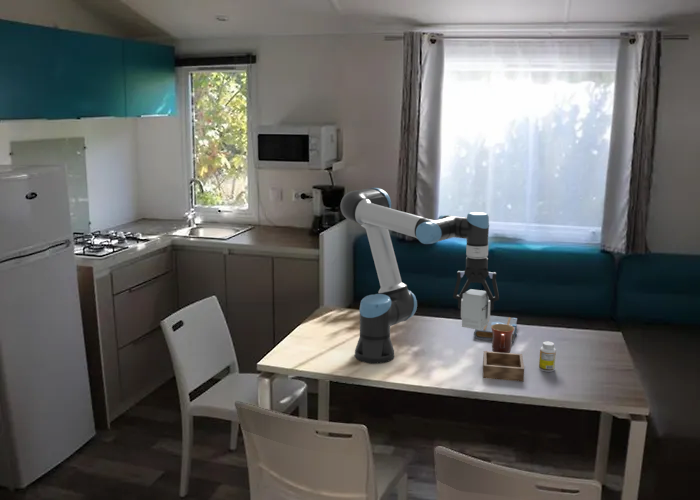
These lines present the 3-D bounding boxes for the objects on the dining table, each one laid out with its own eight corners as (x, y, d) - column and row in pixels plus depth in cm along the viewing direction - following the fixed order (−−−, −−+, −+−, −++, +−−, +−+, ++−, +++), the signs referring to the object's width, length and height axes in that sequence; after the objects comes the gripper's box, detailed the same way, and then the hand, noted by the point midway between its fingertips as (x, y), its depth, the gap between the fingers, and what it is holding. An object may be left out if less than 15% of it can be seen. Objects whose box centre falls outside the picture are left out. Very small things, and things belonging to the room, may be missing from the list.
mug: (489, 347, 265) (491, 323, 262) (512, 349, 263) (513, 324, 261) (489, 358, 253) (491, 333, 251) (513, 360, 252) (515, 335, 249)
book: (479, 323, 295) (480, 312, 293) (517, 327, 290) (518, 316, 289) (473, 339, 275) (474, 327, 274) (514, 343, 270) (515, 332, 269)
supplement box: (480, 330, 233) (481, 295, 230) (461, 327, 237) (461, 293, 234) (488, 324, 239) (489, 291, 236) (469, 321, 243) (470, 288, 240)
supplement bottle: (543, 365, 248) (545, 339, 245) (557, 369, 244) (559, 343, 241) (535, 369, 244) (537, 343, 242) (549, 373, 240) (551, 347, 238)
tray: (483, 378, 236) (483, 365, 235) (482, 363, 249) (483, 351, 248) (523, 381, 233) (524, 368, 232) (521, 366, 246) (522, 354, 245)
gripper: (445, 257, 231) (444, 319, 236) (508, 260, 227) (506, 322, 231) (447, 253, 238) (446, 313, 243) (508, 255, 234) (506, 316, 238)
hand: (475, 318), depth 237 cm, fingers closed on supplement box, 9 cm apart
